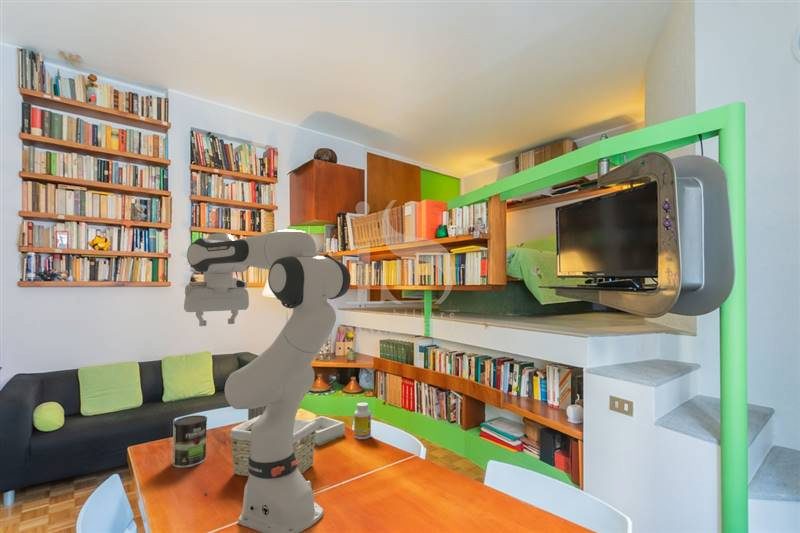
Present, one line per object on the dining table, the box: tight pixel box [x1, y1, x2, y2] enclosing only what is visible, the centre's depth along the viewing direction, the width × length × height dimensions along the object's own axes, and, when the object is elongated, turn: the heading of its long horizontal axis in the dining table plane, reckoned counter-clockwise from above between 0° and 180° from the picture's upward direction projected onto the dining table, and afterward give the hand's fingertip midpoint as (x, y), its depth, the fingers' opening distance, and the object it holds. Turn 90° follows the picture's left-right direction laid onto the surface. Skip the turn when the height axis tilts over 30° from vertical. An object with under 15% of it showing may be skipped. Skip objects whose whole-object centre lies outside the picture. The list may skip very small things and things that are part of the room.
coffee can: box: [172, 414, 208, 469], centre depth 136 cm, size 10×10×14 cm
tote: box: [310, 415, 346, 447], centre depth 157 cm, size 14×14×5 cm
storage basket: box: [229, 415, 317, 477], centre depth 129 cm, size 24×16×15 cm
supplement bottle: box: [353, 402, 372, 440], centre depth 157 cm, size 7×7×13 cm
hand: (217, 325), depth 128 cm, fingers open, 8 cm apart
